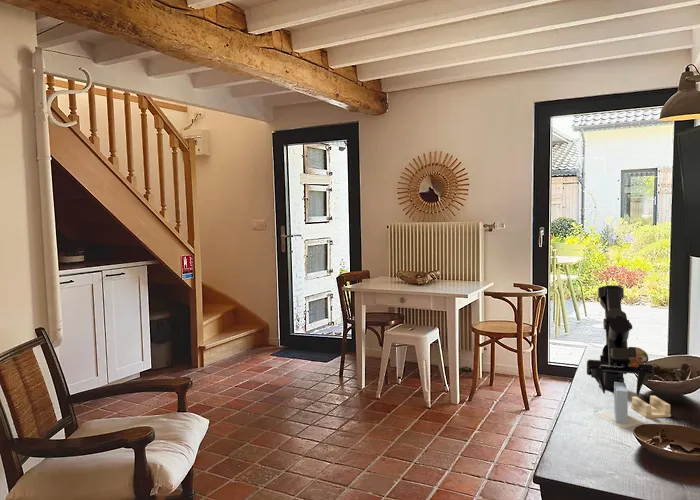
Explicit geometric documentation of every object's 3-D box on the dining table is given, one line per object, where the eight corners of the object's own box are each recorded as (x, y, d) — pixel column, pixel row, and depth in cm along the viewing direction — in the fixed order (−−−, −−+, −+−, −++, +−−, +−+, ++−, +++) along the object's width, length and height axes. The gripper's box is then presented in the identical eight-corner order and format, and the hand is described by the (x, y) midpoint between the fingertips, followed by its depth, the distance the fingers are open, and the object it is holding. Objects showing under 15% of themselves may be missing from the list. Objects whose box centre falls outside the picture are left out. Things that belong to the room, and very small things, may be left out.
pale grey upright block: (613, 412, 170) (614, 381, 169) (624, 413, 169) (624, 382, 168) (616, 422, 163) (616, 390, 162) (627, 423, 162) (627, 391, 161)
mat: (593, 415, 169) (593, 414, 169) (616, 410, 173) (616, 409, 173) (624, 429, 159) (624, 428, 159) (647, 422, 163) (647, 421, 163)
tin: (606, 367, 215) (606, 347, 214) (605, 365, 218) (605, 345, 217) (648, 370, 211) (648, 348, 210) (646, 367, 214) (646, 346, 213)
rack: (630, 408, 174) (631, 396, 173) (655, 407, 174) (655, 395, 174) (645, 418, 166) (645, 406, 165) (670, 417, 166) (671, 404, 166)
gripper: (587, 334, 172) (588, 379, 163) (653, 338, 165) (659, 385, 156) (586, 352, 180) (587, 395, 170) (649, 356, 173) (654, 402, 164)
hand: (620, 394), depth 165 cm, fingers open, 9 cm apart
